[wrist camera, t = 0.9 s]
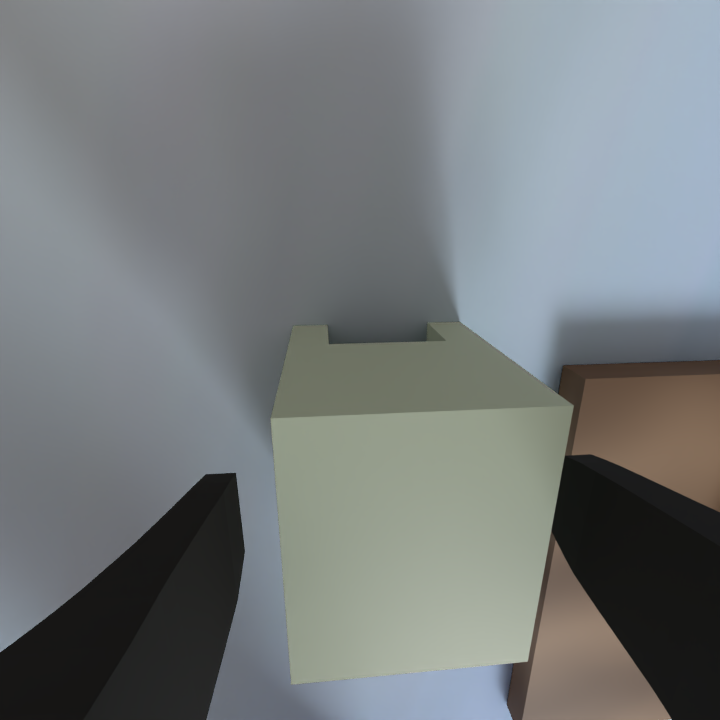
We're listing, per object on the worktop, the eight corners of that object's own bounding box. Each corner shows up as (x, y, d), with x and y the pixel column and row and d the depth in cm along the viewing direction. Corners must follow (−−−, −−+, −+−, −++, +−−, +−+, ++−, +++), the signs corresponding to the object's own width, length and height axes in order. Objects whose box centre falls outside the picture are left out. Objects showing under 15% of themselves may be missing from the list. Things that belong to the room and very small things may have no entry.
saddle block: (446, 489, 15) (527, 661, 9) (302, 497, 14) (291, 684, 8) (459, 321, 13) (574, 406, 7) (293, 325, 12) (270, 418, 7)
